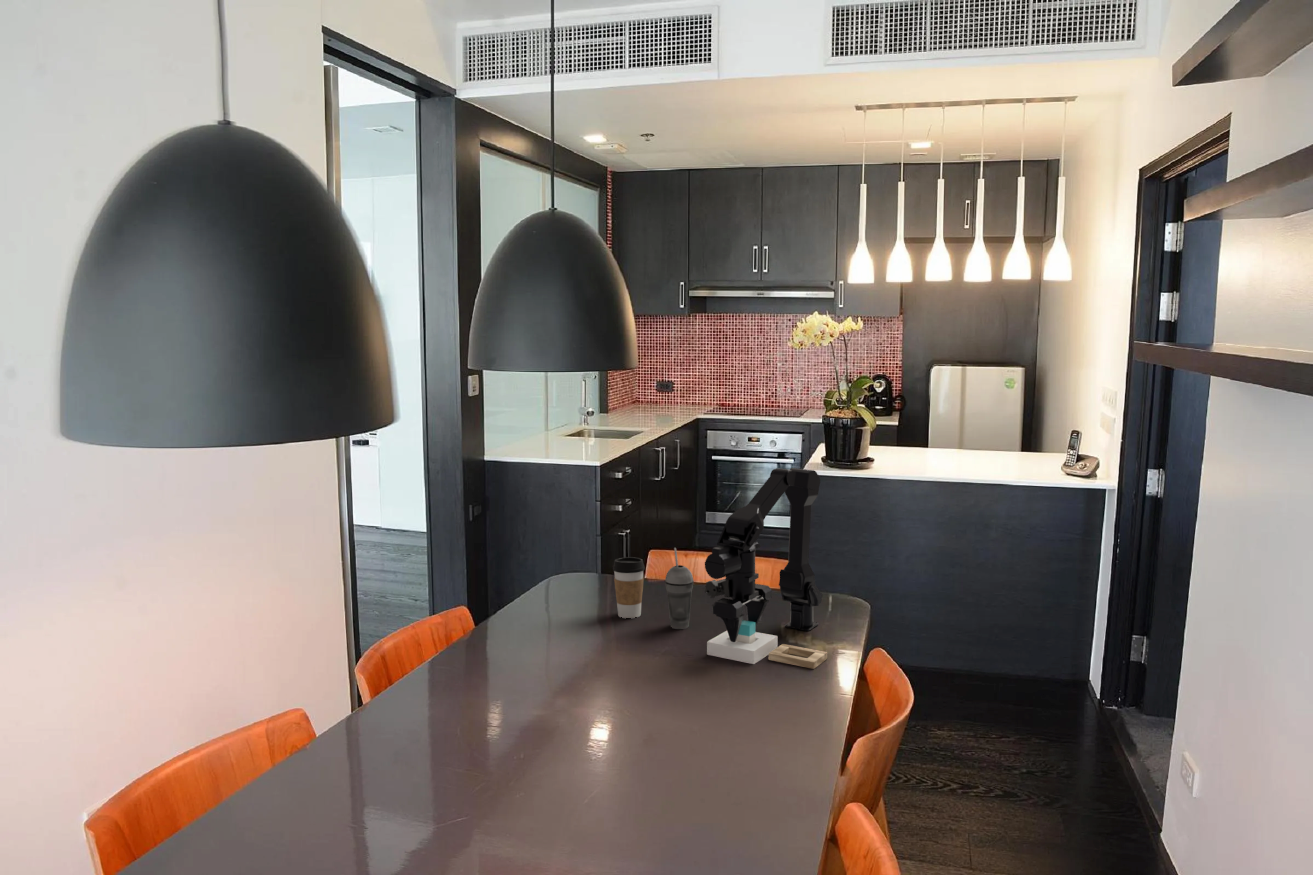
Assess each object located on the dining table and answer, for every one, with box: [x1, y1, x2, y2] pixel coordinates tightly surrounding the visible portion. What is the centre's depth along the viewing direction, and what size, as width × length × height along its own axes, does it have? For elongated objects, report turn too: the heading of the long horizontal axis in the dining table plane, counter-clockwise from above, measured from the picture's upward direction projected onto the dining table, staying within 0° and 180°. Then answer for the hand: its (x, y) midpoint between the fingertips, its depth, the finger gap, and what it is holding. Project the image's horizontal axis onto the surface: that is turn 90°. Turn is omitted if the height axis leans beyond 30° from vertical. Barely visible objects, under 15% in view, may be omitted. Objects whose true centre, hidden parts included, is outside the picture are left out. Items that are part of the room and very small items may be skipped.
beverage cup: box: [664, 547, 695, 630], centre depth 234 cm, size 7×7×20 cm
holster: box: [768, 643, 828, 670], centre depth 211 cm, size 7×11×2 cm
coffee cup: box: [612, 556, 646, 619], centre depth 244 cm, size 8×8×15 cm
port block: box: [706, 630, 779, 665], centre depth 217 cm, size 12×12×3 cm
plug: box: [736, 619, 756, 644], centre depth 216 cm, size 3×5×7 cm, turn 58°
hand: (742, 635), depth 216 cm, fingers open, 9 cm apart
